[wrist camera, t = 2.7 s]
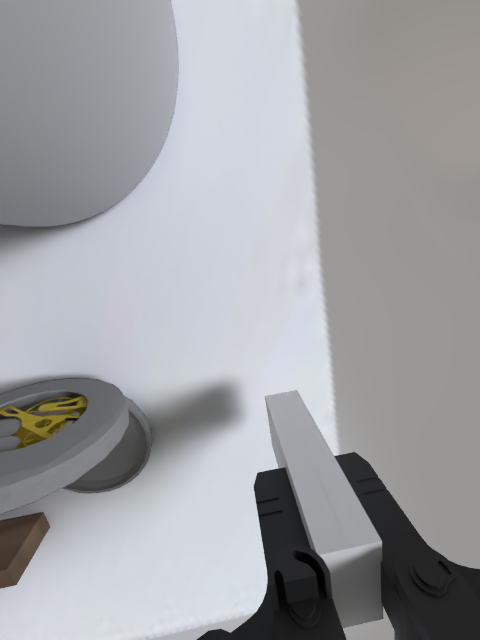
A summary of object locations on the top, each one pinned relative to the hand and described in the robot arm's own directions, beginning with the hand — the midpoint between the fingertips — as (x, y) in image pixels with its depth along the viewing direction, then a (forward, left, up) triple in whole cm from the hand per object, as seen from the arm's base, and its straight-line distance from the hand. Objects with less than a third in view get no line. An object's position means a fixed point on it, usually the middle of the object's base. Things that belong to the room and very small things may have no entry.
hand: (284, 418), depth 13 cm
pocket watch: (0, -10, -3) cm, 11 cm away
